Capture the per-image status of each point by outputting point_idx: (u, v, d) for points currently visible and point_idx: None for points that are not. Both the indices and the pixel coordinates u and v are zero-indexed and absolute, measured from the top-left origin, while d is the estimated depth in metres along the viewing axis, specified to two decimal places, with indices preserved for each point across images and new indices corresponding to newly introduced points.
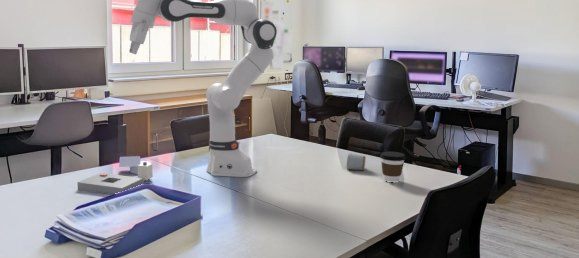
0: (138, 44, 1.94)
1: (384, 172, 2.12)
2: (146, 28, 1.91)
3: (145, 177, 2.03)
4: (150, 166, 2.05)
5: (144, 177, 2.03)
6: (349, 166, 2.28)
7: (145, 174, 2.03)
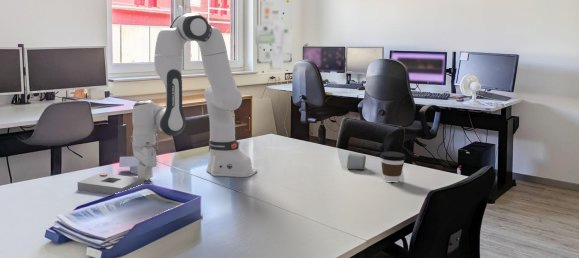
0: None
1: (384, 172, 2.12)
2: (154, 151, 1.96)
3: (145, 177, 2.03)
4: None
5: (144, 177, 2.03)
6: (349, 165, 2.29)
7: (145, 174, 2.03)
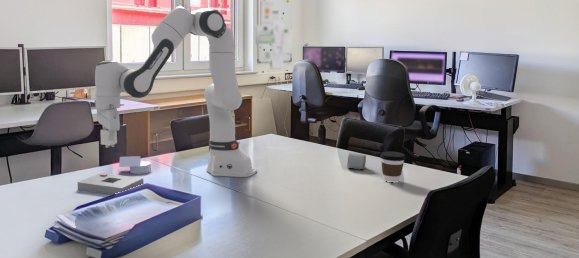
0: (113, 130, 1.87)
1: (384, 172, 2.12)
2: (117, 114, 1.83)
3: (108, 143, 1.90)
4: None
5: (107, 143, 1.90)
6: (350, 165, 2.30)
7: (108, 139, 1.90)
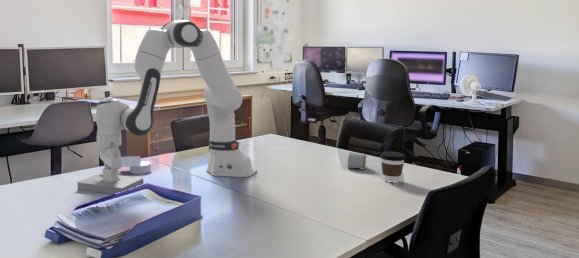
0: (115, 168, 1.89)
1: (384, 172, 2.12)
2: (118, 152, 1.86)
3: (110, 181, 1.93)
4: None
5: (109, 181, 1.93)
6: (350, 165, 2.31)
7: (110, 178, 1.93)
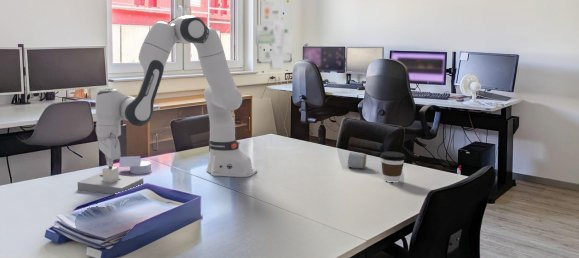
0: None
1: (384, 172, 2.12)
2: (118, 142, 1.85)
3: (110, 181, 1.93)
4: (116, 170, 1.95)
5: (109, 181, 1.93)
6: (350, 164, 2.31)
7: (110, 178, 1.93)
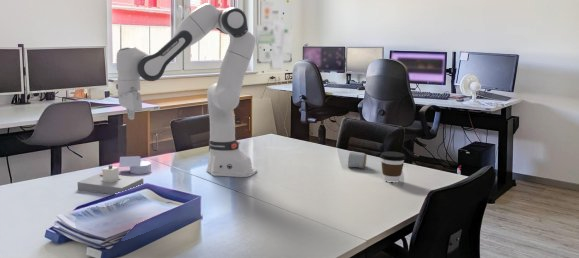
0: None
1: (384, 172, 2.12)
2: (139, 95, 2.00)
3: (110, 181, 1.93)
4: (116, 170, 1.95)
5: (109, 181, 1.93)
6: (350, 164, 2.32)
7: (110, 178, 1.93)
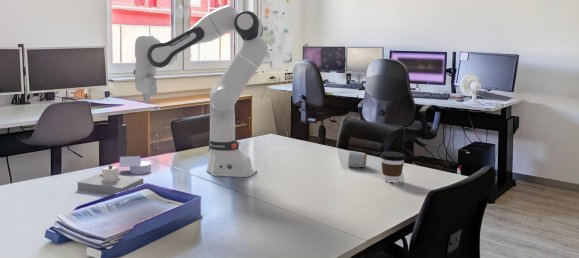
0: (148, 94, 2.21)
1: (384, 172, 2.12)
2: (154, 80, 2.15)
3: (110, 181, 1.93)
4: (116, 170, 1.95)
5: (109, 181, 1.93)
6: (351, 164, 2.33)
7: (110, 178, 1.93)
